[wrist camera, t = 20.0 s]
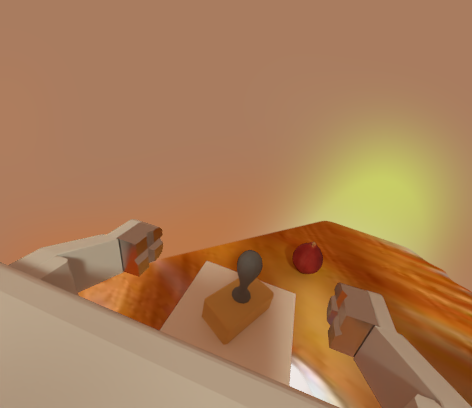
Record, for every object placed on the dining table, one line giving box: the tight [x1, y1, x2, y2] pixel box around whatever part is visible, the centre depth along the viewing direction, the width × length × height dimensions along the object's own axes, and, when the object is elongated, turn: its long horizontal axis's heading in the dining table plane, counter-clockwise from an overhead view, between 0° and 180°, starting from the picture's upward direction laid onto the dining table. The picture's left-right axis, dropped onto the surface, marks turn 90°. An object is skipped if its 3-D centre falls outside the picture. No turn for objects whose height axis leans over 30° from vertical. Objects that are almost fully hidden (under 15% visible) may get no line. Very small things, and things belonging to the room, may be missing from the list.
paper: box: [160, 261, 296, 386], centre depth 34 cm, size 18×16×1 cm
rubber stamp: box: [202, 250, 274, 345], centre depth 31 cm, size 10×6×12 cm, turn 133°
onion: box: [293, 242, 323, 274], centre depth 44 cm, size 6×6×8 cm
